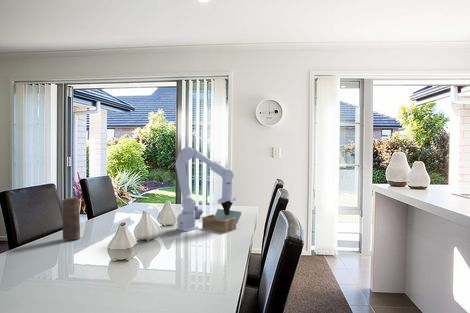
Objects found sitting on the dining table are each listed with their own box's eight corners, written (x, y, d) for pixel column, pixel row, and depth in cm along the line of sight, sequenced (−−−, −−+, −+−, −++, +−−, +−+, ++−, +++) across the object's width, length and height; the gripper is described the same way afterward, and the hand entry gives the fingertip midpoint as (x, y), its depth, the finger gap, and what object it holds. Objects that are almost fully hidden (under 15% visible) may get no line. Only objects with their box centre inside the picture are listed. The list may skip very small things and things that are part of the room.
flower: (199, 210, 184) (197, 200, 192) (186, 216, 184) (185, 206, 193) (205, 220, 188) (204, 210, 197) (192, 226, 188) (191, 216, 197)
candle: (72, 242, 143) (71, 199, 142) (58, 241, 144) (58, 198, 144) (83, 237, 150) (83, 196, 150) (70, 236, 152) (69, 196, 151)
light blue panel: (236, 223, 166) (240, 211, 169) (212, 219, 175) (217, 208, 178) (237, 224, 167) (241, 212, 170) (213, 220, 175) (218, 209, 179)
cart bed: (226, 232, 158) (226, 220, 158) (202, 228, 167) (202, 217, 167) (236, 228, 166) (235, 217, 165) (212, 224, 175) (212, 214, 174)
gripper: (225, 192, 164) (224, 217, 164) (240, 190, 176) (239, 213, 176) (214, 191, 168) (214, 216, 168) (230, 189, 180) (229, 212, 180)
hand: (226, 214), depth 172 cm, fingers closed, pressing on light blue panel
